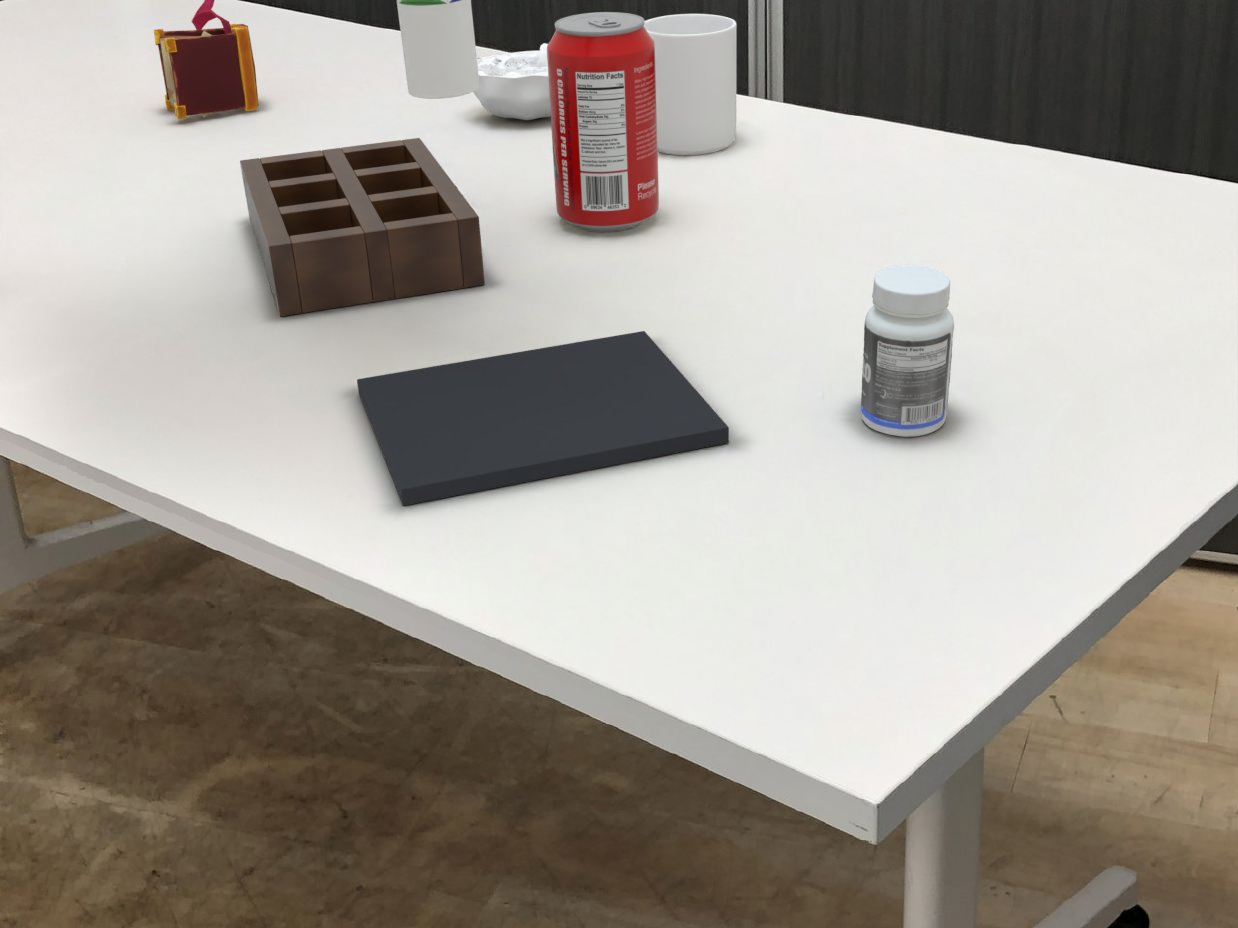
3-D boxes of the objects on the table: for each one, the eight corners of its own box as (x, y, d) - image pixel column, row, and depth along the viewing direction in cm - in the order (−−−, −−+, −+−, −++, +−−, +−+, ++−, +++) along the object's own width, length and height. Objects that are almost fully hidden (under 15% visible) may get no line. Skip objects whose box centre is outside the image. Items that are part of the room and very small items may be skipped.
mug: (633, 170, 121) (629, 46, 116) (589, 146, 128) (583, 28, 123) (754, 146, 126) (755, 26, 121) (705, 124, 132) (704, 9, 127)
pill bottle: (870, 395, 83) (877, 257, 79) (953, 406, 81) (964, 266, 77) (850, 432, 79) (857, 289, 75) (937, 444, 77) (948, 299, 73)
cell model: (487, 100, 143) (481, 30, 139) (603, 104, 140) (600, 33, 136) (450, 129, 134) (443, 55, 131) (572, 134, 131) (568, 59, 128)
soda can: (589, 245, 106) (578, 38, 99) (539, 216, 112) (525, 19, 105) (678, 223, 109) (675, 21, 102) (625, 196, 115) (618, 4, 108)
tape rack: (280, 317, 96) (268, 246, 94) (250, 222, 113) (239, 160, 111) (485, 285, 100) (479, 216, 97) (426, 198, 117) (419, 137, 114)
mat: (402, 506, 74) (400, 489, 73) (358, 394, 85) (356, 378, 85) (729, 443, 78) (729, 427, 78) (644, 345, 90) (644, 330, 90)
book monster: (167, 125, 138) (166, 101, 149) (263, 117, 140) (255, 94, 151) (148, 10, 134) (149, -6, 144) (247, 3, 136) (241, -12, 146)
